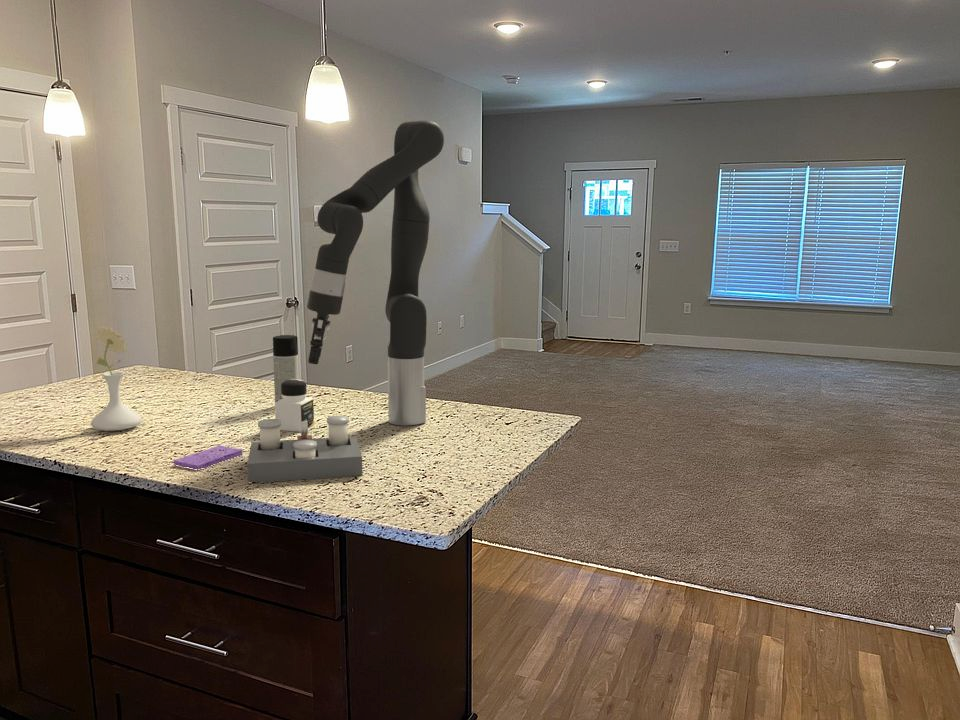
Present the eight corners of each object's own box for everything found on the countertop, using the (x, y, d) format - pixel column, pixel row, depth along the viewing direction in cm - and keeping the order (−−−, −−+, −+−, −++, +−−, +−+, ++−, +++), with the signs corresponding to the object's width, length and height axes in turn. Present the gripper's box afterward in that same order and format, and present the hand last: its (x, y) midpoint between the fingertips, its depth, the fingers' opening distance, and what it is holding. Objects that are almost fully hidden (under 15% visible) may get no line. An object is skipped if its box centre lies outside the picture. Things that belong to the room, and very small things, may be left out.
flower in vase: (150, 428, 179) (143, 328, 175) (101, 437, 171) (93, 332, 166) (129, 418, 188) (121, 323, 183) (81, 426, 180) (72, 326, 175)
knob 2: (348, 440, 158) (348, 415, 157) (350, 446, 154) (349, 420, 153) (327, 442, 157) (326, 416, 156) (328, 448, 152) (327, 421, 151)
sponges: (243, 457, 159) (242, 449, 159) (197, 473, 148) (197, 464, 148) (219, 452, 162) (219, 444, 162) (173, 468, 151) (172, 459, 151)
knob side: (317, 466, 150) (316, 439, 149) (317, 473, 146) (317, 445, 145) (294, 467, 149) (293, 440, 148) (294, 475, 145) (293, 447, 144)
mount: (356, 453, 161) (355, 436, 160) (362, 475, 146) (362, 456, 146) (252, 460, 155) (251, 442, 154) (248, 483, 141) (247, 463, 140)
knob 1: (282, 444, 155) (281, 418, 154) (281, 451, 150) (280, 424, 149) (259, 446, 153) (258, 419, 152) (258, 452, 149) (257, 425, 148)
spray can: (304, 405, 204) (302, 335, 200) (290, 411, 198) (288, 338, 194) (284, 403, 206) (281, 334, 202) (270, 409, 200) (267, 337, 196)
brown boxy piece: (311, 441, 155) (311, 419, 154) (312, 445, 152) (311, 422, 151) (297, 442, 154) (296, 420, 154) (297, 446, 152) (296, 423, 151)
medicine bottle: (302, 432, 177) (300, 384, 175) (275, 430, 178) (273, 382, 176) (314, 424, 184) (313, 378, 182) (288, 423, 185) (286, 377, 183)
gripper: (342, 297, 158) (329, 369, 161) (344, 292, 172) (331, 358, 174) (308, 290, 157) (294, 362, 159) (312, 285, 171) (300, 352, 173)
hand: (314, 360), depth 167 cm, fingers open, 8 cm apart
